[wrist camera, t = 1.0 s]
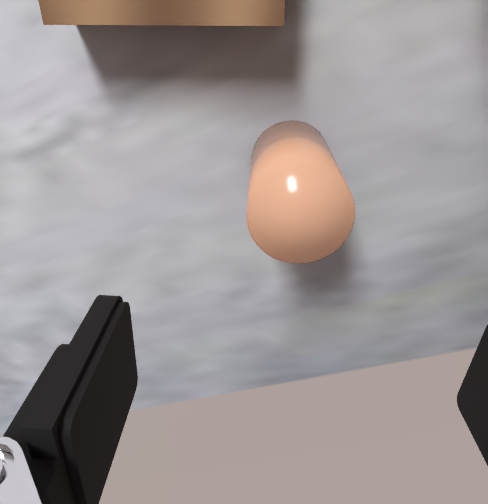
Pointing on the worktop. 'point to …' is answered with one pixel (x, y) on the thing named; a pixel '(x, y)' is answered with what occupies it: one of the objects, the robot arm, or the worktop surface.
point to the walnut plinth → (164, 12)
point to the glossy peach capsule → (297, 195)
